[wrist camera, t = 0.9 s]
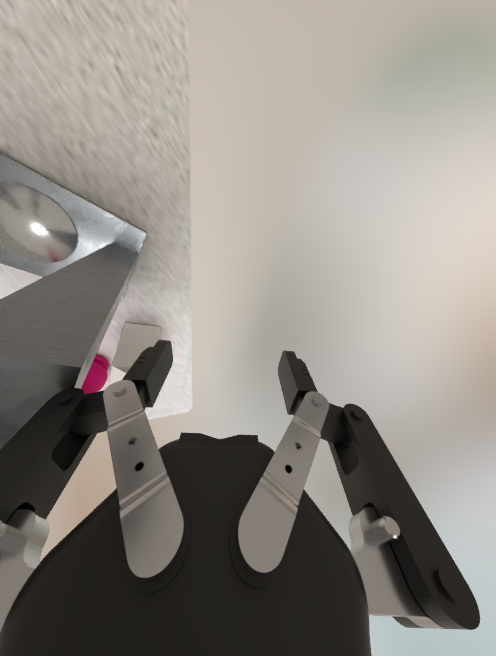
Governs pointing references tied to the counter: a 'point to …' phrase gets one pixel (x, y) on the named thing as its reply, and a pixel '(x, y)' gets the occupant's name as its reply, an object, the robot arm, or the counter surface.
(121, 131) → the counter surface
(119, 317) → the counter surface
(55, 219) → the arbor press
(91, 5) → the counter surface
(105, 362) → the pepper mill
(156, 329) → the milk carton
